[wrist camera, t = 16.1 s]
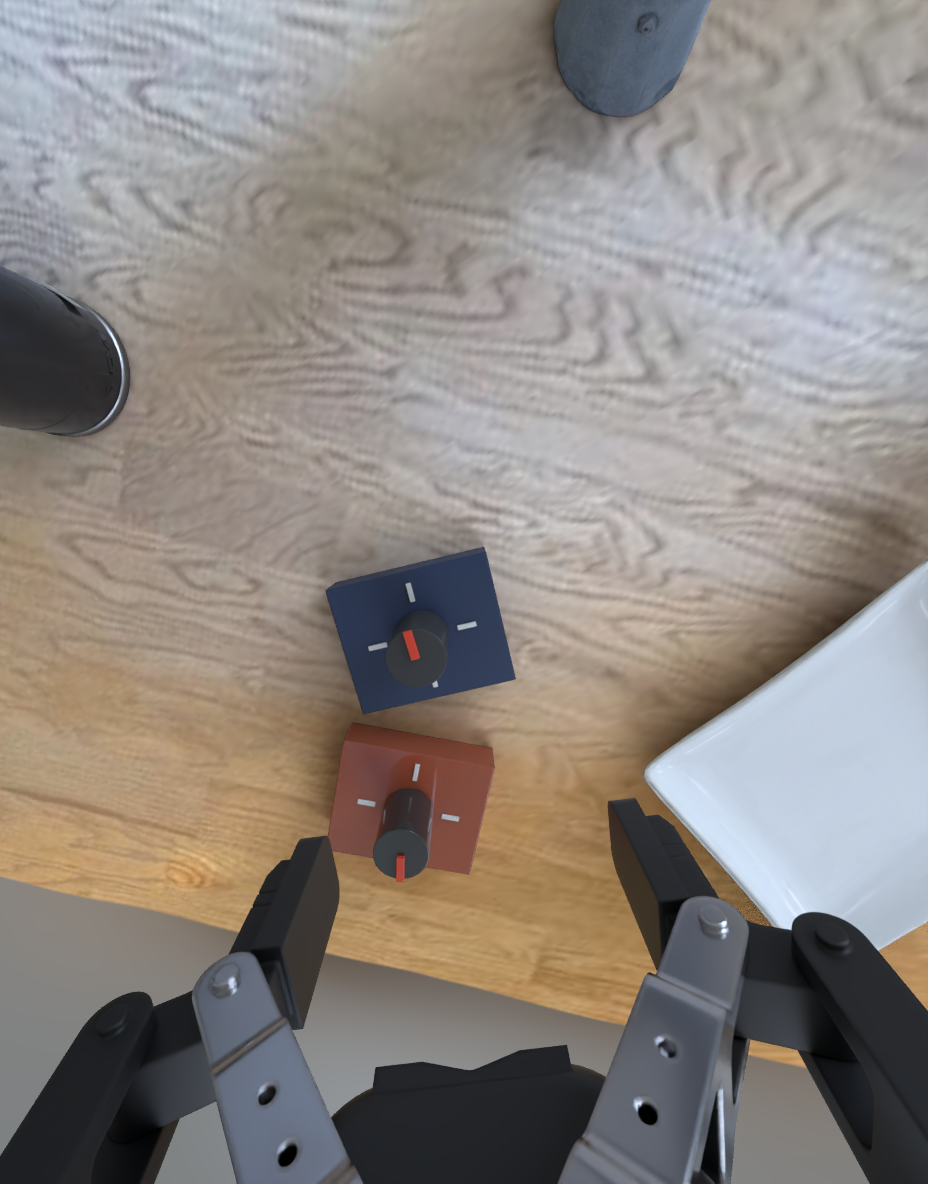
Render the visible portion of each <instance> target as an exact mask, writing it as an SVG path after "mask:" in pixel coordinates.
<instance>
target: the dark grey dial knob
mask: <svg viewBox="0 0 928 1184" xmlns="http://www.w3.org/2000/svg"><path fill="white" fill-rule="evenodd" d="M432 823H433V805H432V802H431V800H430V799H429V798H428V796H427V795H426V794H424V793H423V792H421V791H419V790H417V789H413V788H403V789H399V790H397V791H395V792H393V793H392V794H391V795H390V796H389V797H388V798H387V799H386V801H385V803H384V807H383V811H382V815H381V819H380V823H379V827H378V831H377V835H376V839H375V843H374V848H373V859H374V862H375V864H376V866H377V867H378V868H379V869H380V870H381V871H382V872H383V873H384V874H386V875H388V876H390V877H393V878H396V882H404V879H405V878H410V877H413V876H415V875H417V874H419V873H420V872H421V871H422V870H423V869H424V868H425V867H426V865H427V863H428V861H429V855H430V845H431V834H432Z"/></svg>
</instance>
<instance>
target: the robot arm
mask: <svg viewBox="0 0 928 1184" xmlns="http://www.w3.org/2000/svg"><path fill="white" fill-rule="evenodd" d="M38 281H39V280H38ZM40 282H41V281H40ZM41 283H43V284H44V285H46V286H47V287H49V288H50V289H52V290H53V291H52V290H50V289H48V288H46V287H44V286H42V285H40V284H38V283H36V282H34V281H32V280H30V279H27V278H25V277H23V276H21V275H19V274H17V273H15V272H13V271H11V270H8V269H6V268H4V267H2V266H0V426H3V427H10V428H17V429H24V430H32V431H40V432H46V433H49V434H54V435H60V436H69V437H80V436H86V435H90V434H93V433H96V432H98V431H100V430H102V429H104V428H105V427H107V426H108V425H109V424H110V423H112V422H113V421H114V420H115V419H116V417H117V416H118V415H119V413H120V412H121V410H122V408H123V406H124V404H125V402H126V399H127V396H128V392H129V385H130V370H129V363H128V359H127V355H126V352H125V349H124V347H123V345H122V343H121V341H120V339H119V337H118V335H117V334H116V332H115V331H114V329H113V328H112V327H111V326H110V324H109V323H108V322H107V321H106V320H105V319H104V318H103V317H102V316H101V315H100V314H98V313H97V312H96V311H94V310H93V309H92V308H90V307H88V306H87V305H85V304H83V303H81V302H79V301H77V300H75V299H72V298H70V297H67V296H65V295H63V294H62V293H60V292H59V291H57V290H56V289H54V288H53V287H51V286H50V285H48V284H46V283H44V282H41ZM54 291H55V292H54ZM608 816H609V828H610V840H611V850H612V856H613V861H614V865H615V869H616V872H617V874H618V877H619V879H620V882H621V884H622V887H623V889H624V892H625V894H626V896H627V899H628V901H629V904H630V906H631V909H632V911H633V914H634V916H635V919H636V921H637V923H638V926H639V928H640V931H641V933H642V936H643V938H644V941H645V943H646V945H647V948H648V950H649V953H650V955H651V958H652V960H653V963H654V965H655V967H656V970H657V973H656V975H654V974H652V973H650V972H649V973H647V975H646V976H645V978H644V980H643V982H642V985H641V987H640V990H639V993H638V995H637V998H636V1000H635V1003H634V1006H633V1008H632V1011H631V1014H630V1016H629V1019H628V1021H627V1024H626V1027H625V1030H624V1032H623V1035H622V1037H621V1040H620V1042H619V1045H618V1048H617V1050H616V1053H615V1056H614V1058H613V1061H612V1064H611V1066H610V1069H609V1071H608V1074H607V1076H606V1077H605V1076H603V1075H602V1074H599V1073H597V1072H595V1071H593V1070H591V1069H588V1068H585V1067H582V1066H579V1065H574V1064H571V1063H570V1058H569V1053H568V1048H567V1045H562V1046H553V1047H545V1048H537V1049H527V1050H520V1051H517V1052H515V1053H513V1054H510V1055H508V1056H505V1057H503V1058H501V1059H498V1060H496V1061H494V1062H491V1063H489V1064H487V1065H484V1066H482V1067H480V1068H477V1069H474V1070H463V1069H458V1068H452V1067H447V1066H441V1065H437V1064H431V1063H426V1062H416V1063H409V1064H400V1065H391V1066H382V1067H376V1069H375V1075H374V1083H373V1088H371V1089H369V1090H367V1091H365V1092H363V1093H361V1094H360V1095H358V1096H356V1097H355V1098H353V1099H352V1100H351V1101H349V1102H348V1103H346V1104H345V1105H344V1106H343V1107H342V1108H340V1110H338V1111H337V1112H336V1113H335V1114H334V1115H333V1116H332V1117H330V1114H329V1112H328V1110H327V1108H326V1105H325V1103H324V1101H323V1099H322V1096H321V1094H320V1092H319V1089H318V1087H317V1085H316V1083H315V1080H314V1078H313V1076H312V1074H311V1072H310V1069H309V1067H308V1065H307V1062H306V1060H305V1058H304V1056H303V1054H302V1051H301V1049H300V1047H299V1044H298V1042H297V1040H296V1037H295V1035H294V1033H293V1031H292V1030H297V1029H303V1027H304V1023H305V1020H306V1017H307V1013H308V1010H309V1006H310V1003H311V999H312V995H313V992H314V989H315V985H316V982H317V978H318V974H319V971H320V968H321V964H322V961H323V957H324V954H325V950H326V947H327V943H328V940H329V936H330V933H331V929H332V926H333V922H334V919H335V915H336V912H337V908H338V904H339V880H338V876H337V871H336V866H335V862H334V857H333V852H332V848H331V843H330V840H329V838H328V836H320V837H312V838H304V839H300V840H299V842H298V844H297V846H296V848H295V850H294V852H293V855H292V857H291V859H290V860H283V861H281V862H280V863H279V864H278V865H277V866H276V867H275V868H274V869H273V870H272V871H271V872H270V873H269V874H268V875H267V877H266V879H265V881H264V883H263V885H262V887H261V889H260V891H259V895H257V897H256V899H255V901H254V904H253V908H251V910H250V912H249V914H248V916H247V918H246V920H245V922H244V924H243V926H242V928H241V930H240V932H239V934H238V936H237V938H236V940H235V942H234V945H233V947H232V949H231V951H230V953H229V955H228V956H225V957H223V958H221V959H219V960H218V961H217V962H215V963H214V964H212V965H211V966H210V967H209V968H208V969H207V970H206V971H205V972H204V973H203V974H202V975H201V976H200V978H199V979H198V981H197V982H196V984H195V986H194V989H193V990H192V991H190V992H188V993H186V994H184V995H181V996H179V997H176V998H174V999H171V1000H169V1001H166V1002H164V1003H162V1004H159V1005H157V1006H153V1003H152V1000H151V998H150V996H149V995H148V994H146V993H144V992H132V993H128V994H125V995H122V996H120V997H118V998H116V999H114V1000H112V1001H111V1002H109V1003H108V1004H106V1005H105V1006H103V1007H102V1008H101V1009H100V1010H98V1011H97V1012H96V1013H95V1014H94V1015H93V1016H92V1017H91V1018H90V1019H89V1020H88V1022H87V1023H86V1024H85V1025H84V1026H83V1028H82V1029H81V1031H80V1032H79V1034H78V1036H77V1037H76V1039H75V1040H74V1042H73V1043H72V1045H71V1046H70V1048H69V1050H68V1051H67V1053H66V1054H65V1056H64V1057H63V1059H62V1060H61V1062H60V1064H59V1065H58V1067H57V1068H56V1070H55V1072H54V1073H53V1075H52V1076H51V1078H50V1079H49V1081H48V1082H47V1084H46V1086H45V1087H44V1089H43V1090H42V1092H41V1093H40V1095H39V1097H38V1098H37V1100H36V1101H35V1103H34V1105H33V1106H32V1107H31V1109H30V1110H29V1112H28V1114H27V1115H26V1117H25V1118H24V1120H23V1121H22V1123H21V1124H20V1126H19V1128H18V1129H17V1131H16V1133H15V1134H14V1135H13V1137H12V1139H11V1140H10V1142H9V1143H8V1145H7V1146H6V1148H5V1149H4V1151H3V1153H2V1154H1V1156H0V1184H154V1183H155V1180H156V1177H157V1175H158V1173H159V1170H160V1167H161V1164H162V1162H163V1160H164V1157H165V1155H166V1152H167V1150H168V1147H169V1144H170V1142H171V1139H172V1137H173V1134H174V1132H175V1129H176V1127H177V1124H178V1122H179V1119H180V1118H181V1117H184V1116H186V1115H188V1114H190V1113H192V1112H194V1111H196V1110H198V1109H201V1108H203V1107H205V1106H207V1105H209V1104H211V1103H213V1102H215V1101H216V1102H217V1106H218V1110H219V1114H220V1118H221V1122H222V1126H223V1130H224V1134H225V1138H226V1142H227V1146H228V1150H229V1154H230V1157H231V1162H232V1166H233V1170H234V1174H235V1178H236V1182H237V1184H731V1177H732V1167H733V1158H734V1142H735V1130H736V1122H737V1116H738V1110H739V1104H740V1098H741V1092H742V1086H743V1080H744V1074H745V1068H746V1062H747V1057H748V1051H749V1045H750V1039H751V1040H756V1041H760V1042H765V1043H769V1044H773V1045H778V1046H782V1047H787V1048H791V1049H795V1050H798V1052H799V1054H800V1056H801V1057H802V1059H803V1061H804V1063H805V1065H806V1067H807V1069H808V1070H809V1072H810V1074H811V1076H812V1078H813V1080H814V1081H815V1083H816V1085H817V1087H818V1089H819V1091H820V1093H821V1094H822V1096H823V1098H824V1100H825V1102H826V1104H827V1106H828V1107H829V1109H830V1111H831V1113H832V1115H833V1117H834V1118H835V1120H836V1122H837V1124H838V1126H839V1128H840V1130H841V1131H842V1133H843V1135H844V1137H845V1139H846V1141H847V1143H848V1144H849V1146H850V1148H851V1150H852V1152H853V1154H854V1155H855V1157H856V1159H857V1161H858V1163H859V1165H860V1166H861V1168H862V1170H863V1172H864V1174H865V1176H866V1178H867V1180H868V1181H869V1183H870V1184H928V1011H927V1010H926V1008H925V1007H924V1006H923V1005H922V1004H921V1002H920V1001H919V1000H918V999H917V998H916V996H915V995H914V994H913V993H912V992H911V990H910V989H909V988H908V987H907V985H906V984H905V983H904V982H903V981H902V979H901V978H900V977H899V976H898V975H897V973H896V972H895V971H894V970H893V968H892V967H891V966H890V965H889V964H888V962H887V961H886V960H885V959H884V958H883V956H882V955H881V954H880V953H879V952H878V950H877V949H876V948H875V947H874V945H873V944H872V943H871V942H870V941H869V939H868V938H867V937H866V936H865V935H864V934H863V933H862V932H861V931H860V930H859V929H857V928H856V927H855V926H853V925H852V924H850V923H849V922H847V921H845V920H843V919H841V918H839V917H836V916H833V915H830V914H826V913H821V912H807V913H803V914H800V915H799V916H797V917H796V918H795V919H794V921H793V923H792V927H791V930H789V929H783V928H776V927H770V926H764V925H759V924H756V923H752V922H750V921H747V920H746V919H745V918H744V916H743V915H742V914H741V913H740V912H739V911H738V910H737V909H736V908H735V907H734V906H732V905H731V904H729V903H727V902H725V901H723V900H721V899H719V897H718V896H717V894H716V893H715V891H714V889H713V888H712V886H711V885H710V883H709V881H708V880H707V878H706V877H705V875H704V874H703V872H702V870H701V869H700V867H699V866H698V864H697V862H696V861H695V859H694V858H693V856H692V855H691V854H690V851H689V850H688V848H687V847H686V845H685V843H683V840H682V839H681V837H680V835H679V834H678V832H677V831H676V829H675V828H674V826H673V825H671V824H670V823H669V822H667V821H666V820H665V819H663V818H662V817H661V816H659V815H652V816H645V814H644V812H643V811H642V809H641V807H640V805H639V803H638V802H637V800H636V799H635V798H630V799H622V800H614V801H609V802H608Z"/></svg>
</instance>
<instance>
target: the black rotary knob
mask: <svg viewBox="0 0 928 1184" xmlns="http://www.w3.org/2000/svg"><path fill="white" fill-rule="evenodd" d="M448 646H449V631H448V628H447V625H446V623H445V622H444V621H443V619H442V618H441V617H439V616H438V615H437V614H435V613H433V612H430V611H426V610H417V611H413V612H411V613H409V614H407V615H405V616H404V617H403V618H402V619H401V620H400V622H399V623H398V625H397V627H396V629H395V632H394V634H393V636H392V638H391V640H390V642H389V644H388V646H387V649H386V654H385V661H386V666H387V669H388V671H389V672H390V674H391V675H392V677H393V678H394V679H395V680H397V681H398V682H399V683H401V684H403V685H405V686H409V687H417V688H418V687H425V686H428V685H430V684H432V683H434V682H435V681H437V680H438V679H439V678H440V677H441V676H442V674H443V673H444V670H445V668H446V665H447V657H448Z"/></svg>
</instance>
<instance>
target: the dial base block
mask: <svg viewBox="0 0 928 1184" xmlns="http://www.w3.org/2000/svg"><path fill="white" fill-rule="evenodd" d="M494 769H495V766H494V757H493V749H492V748H488V747H482V746H477V745H471V744H466V743H460V742H455V741H450V740H444V739H439V738H433V737H428V736H422V735H417V734H411V733H406V732H401V731H395V730H390V729H384V728H379V727H373V726H368V725H362V724H357V723H352V724H351V726H350V728H349V730H348V732H347V734H346V737H345V739H344V742H343V748H342V754H341V760H340V766H339V772H338V778H337V784H336V790H335V796H334V802H333V808H332V814H331V820H330V826H329V832H328V838H329V840H330V843H331V848H332V851H335V852H341V853H346V854H352V855H358V856H364V857H370V858H373V848H374V843H375V839H376V835H377V831H378V827H379V823H380V819H381V815H382V811H383V807H384V803H385V801H386V799H387V798H388V797H389V796H390V795H391V794H392V793H393V792H395V791H397V790H399V789H403V788H413V789H417V790H419V791H421V792H423V793H424V794H426V795H427V796H428V798H429V799H430V800H431V802H432V805H433V823H432V834H431V845H430V855H429V861H428V863H427V865H426V867H428V868H434V869H439V870H445V871H451V872H457V873H463V874H468V875H469V874H470V871H471V866H472V862H473V858H474V854H475V849H476V845H477V841H478V837H479V832H480V828H481V824H482V820H483V815H484V811H485V807H486V803H487V798H488V794H489V790H490V786H491V781H492V777H493V773H494Z"/></svg>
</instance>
